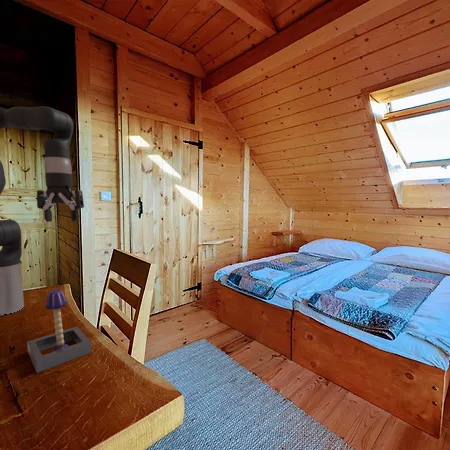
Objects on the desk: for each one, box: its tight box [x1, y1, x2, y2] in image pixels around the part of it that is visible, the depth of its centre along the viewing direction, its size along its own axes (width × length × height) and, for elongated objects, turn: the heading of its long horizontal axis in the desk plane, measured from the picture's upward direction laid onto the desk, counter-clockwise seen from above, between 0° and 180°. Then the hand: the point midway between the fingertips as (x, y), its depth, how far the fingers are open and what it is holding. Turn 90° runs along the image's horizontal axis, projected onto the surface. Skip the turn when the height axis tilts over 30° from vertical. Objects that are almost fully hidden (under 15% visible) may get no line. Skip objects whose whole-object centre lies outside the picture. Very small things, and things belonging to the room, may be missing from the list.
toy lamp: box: [45, 289, 70, 352], centre depth 71 cm, size 5×5×17 cm
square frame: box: [26, 326, 92, 374], centre depth 71 cm, size 12×12×3 cm
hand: (61, 221), depth 90 cm, fingers open, 8 cm apart
